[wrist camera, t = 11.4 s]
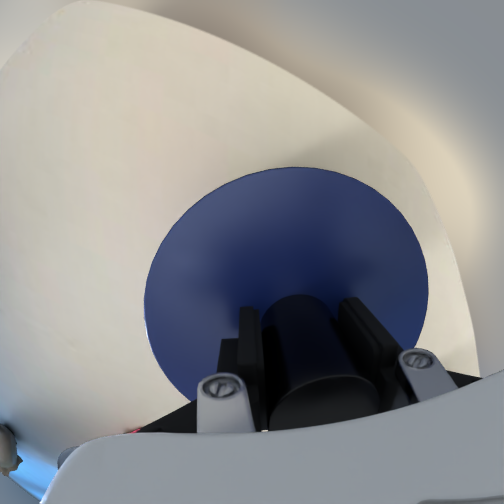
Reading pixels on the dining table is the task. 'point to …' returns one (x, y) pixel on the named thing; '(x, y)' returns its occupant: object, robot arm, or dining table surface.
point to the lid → (286, 288)
